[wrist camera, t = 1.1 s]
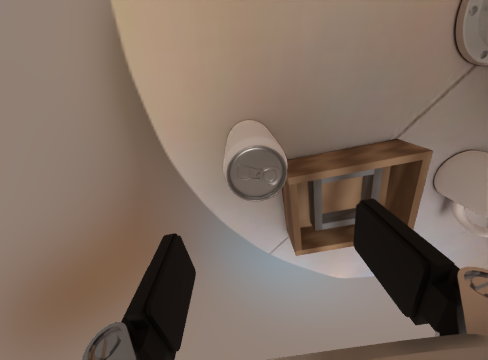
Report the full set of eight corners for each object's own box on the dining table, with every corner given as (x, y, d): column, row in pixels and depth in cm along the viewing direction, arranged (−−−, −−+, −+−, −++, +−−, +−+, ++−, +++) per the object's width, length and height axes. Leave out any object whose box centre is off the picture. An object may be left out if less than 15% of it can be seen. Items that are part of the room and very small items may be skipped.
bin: (396, 138, 29) (433, 150, 24) (384, 213, 35) (411, 236, 30) (278, 161, 30) (288, 178, 25) (287, 230, 36) (296, 255, 31)
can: (266, 164, 30) (283, 208, 19) (225, 160, 29) (218, 202, 19) (274, 122, 27) (299, 145, 16) (229, 116, 27) (224, 136, 16)
